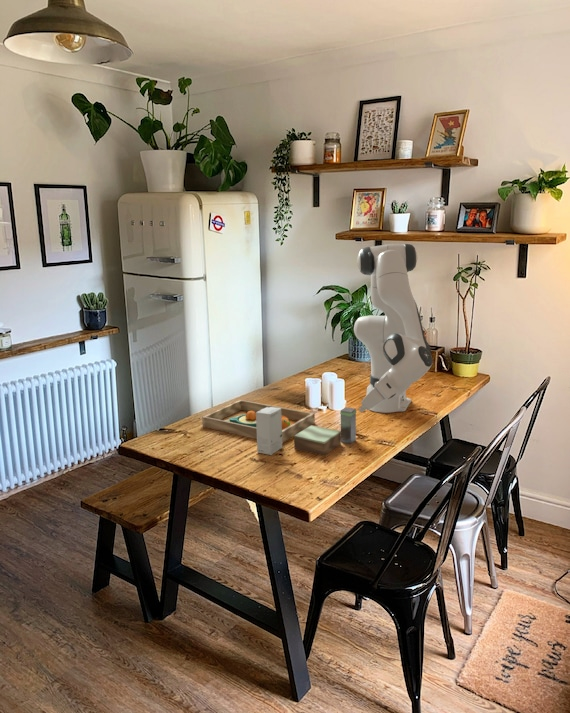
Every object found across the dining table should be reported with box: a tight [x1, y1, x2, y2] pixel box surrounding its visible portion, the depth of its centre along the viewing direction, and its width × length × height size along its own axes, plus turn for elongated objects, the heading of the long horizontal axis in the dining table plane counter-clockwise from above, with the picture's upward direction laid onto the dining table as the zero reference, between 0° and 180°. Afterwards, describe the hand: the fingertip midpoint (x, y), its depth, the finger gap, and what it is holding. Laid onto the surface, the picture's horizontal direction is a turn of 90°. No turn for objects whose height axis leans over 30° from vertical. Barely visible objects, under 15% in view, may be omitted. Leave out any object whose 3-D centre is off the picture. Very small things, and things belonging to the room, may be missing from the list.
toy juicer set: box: [224, 411, 291, 430], centre depth 237 cm, size 29×18×8 cm, turn 60°
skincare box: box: [256, 407, 283, 456], centre depth 212 cm, size 8×6×15 cm
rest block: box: [293, 424, 342, 457], centre depth 216 cm, size 12×12×5 cm
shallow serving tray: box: [201, 399, 316, 443], centre depth 239 cm, size 25×36×4 cm
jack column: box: [339, 406, 357, 445], centre depth 219 cm, size 4×4×12 cm
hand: (366, 406), depth 214 cm, fingers open, 8 cm apart
